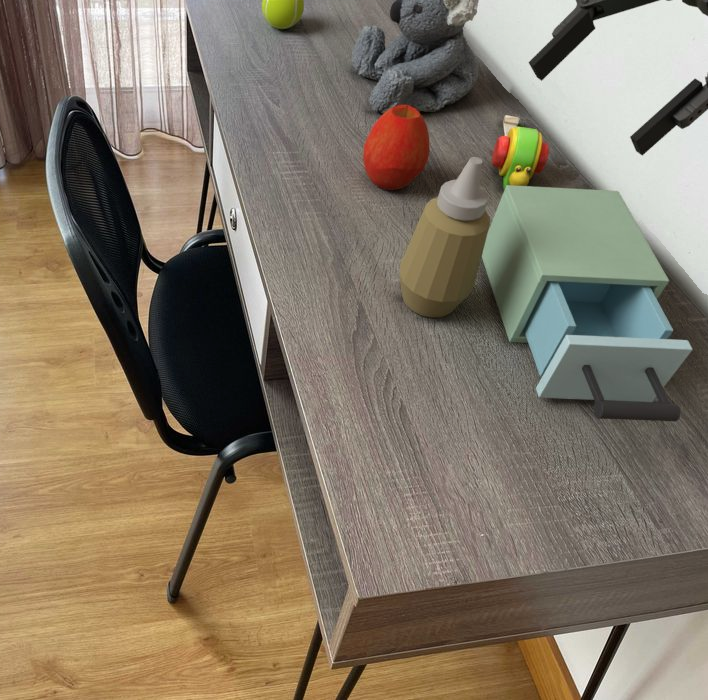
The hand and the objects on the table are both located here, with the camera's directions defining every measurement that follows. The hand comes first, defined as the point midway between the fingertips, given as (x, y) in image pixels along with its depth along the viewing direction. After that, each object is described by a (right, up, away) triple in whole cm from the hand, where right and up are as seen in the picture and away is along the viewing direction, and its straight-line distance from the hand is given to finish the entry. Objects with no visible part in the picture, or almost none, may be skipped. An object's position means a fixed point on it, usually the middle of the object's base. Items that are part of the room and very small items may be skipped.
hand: (582, 107), depth 68 cm
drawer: (+3, -25, +6) cm, 26 cm away
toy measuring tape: (+5, +4, +33) cm, 34 cm away
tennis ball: (-25, +32, +56) cm, 69 cm away
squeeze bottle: (-11, -17, +13) cm, 24 cm away
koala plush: (-5, +17, +44) cm, 48 cm away
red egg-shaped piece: (-13, -1, +28) cm, 31 cm away
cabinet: (+3, -17, +14) cm, 22 cm away
